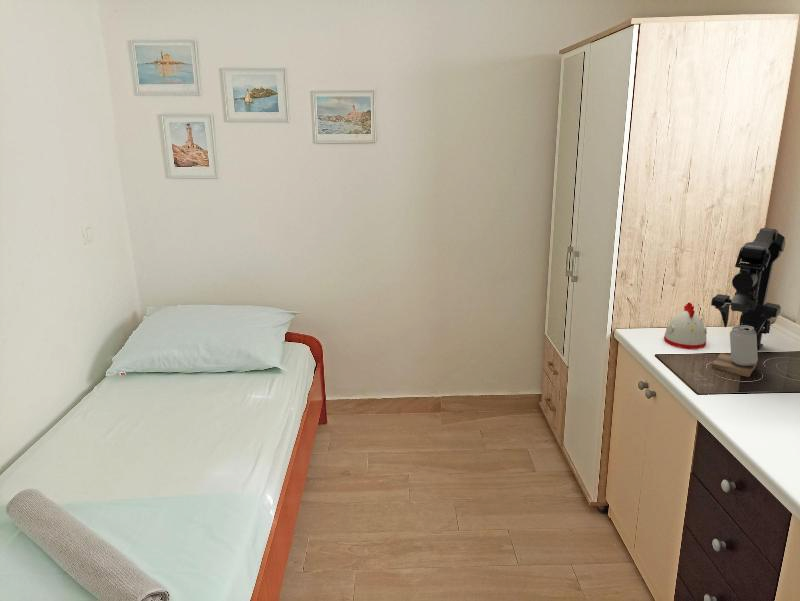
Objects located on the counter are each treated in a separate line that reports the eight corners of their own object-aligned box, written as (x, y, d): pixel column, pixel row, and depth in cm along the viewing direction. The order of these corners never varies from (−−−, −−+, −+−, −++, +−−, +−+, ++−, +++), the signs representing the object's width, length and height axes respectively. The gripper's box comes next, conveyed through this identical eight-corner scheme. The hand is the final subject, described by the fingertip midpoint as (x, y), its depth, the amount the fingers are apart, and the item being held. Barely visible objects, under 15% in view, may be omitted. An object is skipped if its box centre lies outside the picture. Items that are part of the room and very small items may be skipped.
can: (761, 365, 192) (760, 329, 190) (736, 367, 194) (734, 332, 191) (752, 357, 199) (750, 323, 197) (728, 360, 201) (726, 325, 198)
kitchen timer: (670, 348, 215) (675, 309, 210) (659, 334, 228) (664, 296, 223) (711, 349, 213) (717, 309, 208) (697, 335, 226) (703, 297, 221)
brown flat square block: (719, 359, 207) (720, 353, 206) (756, 367, 200) (757, 360, 199) (711, 370, 199) (712, 363, 198) (748, 379, 192) (749, 372, 191)
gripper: (709, 284, 190) (702, 330, 195) (776, 295, 178) (767, 344, 183) (720, 276, 198) (713, 321, 203) (785, 287, 186) (776, 334, 191)
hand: (741, 330), depth 195 cm, fingers open, 9 cm apart
